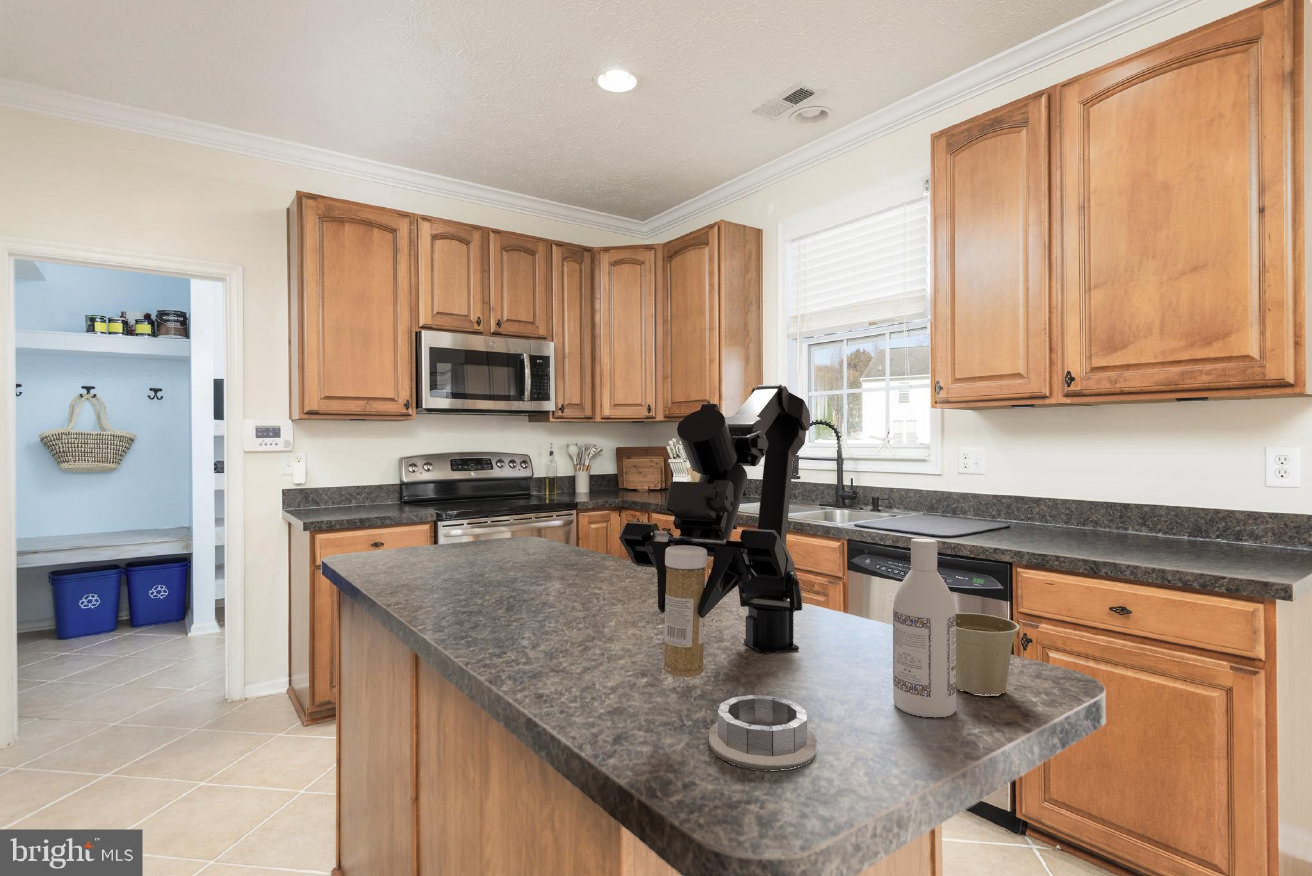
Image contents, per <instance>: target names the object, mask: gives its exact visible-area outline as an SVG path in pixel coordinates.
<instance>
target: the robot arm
mask: <svg viewBox="0 0 1312 876" xmlns="http://www.w3.org/2000/svg"><path fill="white" fill-rule="evenodd" d="M810 414H811V413H810V410H809V408H808V405H807V403H806V402H805V400H804V399H803V398H801V397H799V396H797V395H795V394H793V393H792V392H790V391H789V390H788V387H787V386H786V385H782V384H758V385H757V386H753V387H752V390H751V394H750V396H749V397H748V398H747V399H746V401H745V402H743V404H742V405H741V406H740V407H739V409H738V410H737V411H736V412H735V413H734V414H733V415H732V416H727V417H725V415H724V414H723V413H722V412H721V410H720V407H719V405H718V404H717V403H702V404H701V405H700V409H698V410H695V411H693V412H691V413H689V414H687V415H686V416H685V417H684V418H683V419H682V420H680V421H678V424H677V426H676V427H677V428H676V431H677V436H678V438H679V440H680V443H681V445H682V448H683V450H684V453H685V456H686V458H687V461H688V463H689V465H690V468H691V471H692V472H695V473H697V474H698V475H699V478H698V480H697V481H673V480H672V481H670V482H669V486H668V490H667V497H666V502H665V506H664V510H665V511H666V512H669V513H671V514H672V516H674V518H673V522H672V524H673V527H674V529H675V530H679V534H678V535H674V534H672V533H671V532H670V531H666V530H661V529H660V527H659V525H658V523H657V522H643V521H628V522H626V523H625V525H624V526H623V527H622V529H621V531H620V533H619V537H618V539H619V540H620V543H621V545H622V546H623V548H624V550H625V551H626V553H627V555H628V557H629V559H630V560H631V562H632V564H633V565H635V566H638V567H644V568H655V570H656V577H657V581H656V582H657V607H658V608H657V609H658V610H659V612H660V613H661V614H665V593H666V574H667V570H666V565H665V551H666V548H668V547H671V546H679V545H688V546H698V547H702V548H705V549H706V550H707V559H708V558H709V559H712V567H711V569H710V571H709V572H710V573H709V575H708V578H707V580H706V583H705V589H704V591H703V594H702V597H701V600H700V605H699V609H698V614H699V616H700V618H704V617H705V618H706V616H707V615H708V614H709V613H711V611H712V610H713V609H714V608H715V606H717V605H718V604H719V603H720V602H721V601H722V600H723V599H724V597H726V596H728V594H729V593H730V592H731V591H732V590H734V589H735V588H737V587H738V596H739V604H740V607H742V608H745V607H746V608H748V610H747V611H748V612H747V614H748V615H746V616H745V638H743V643H745V644H746V645H747V646H749V647H751V648H752V649H754V650H755V651H756V652H758V653H759V654H772V653H773V654H774V653H781V652H790V651H799V650H800V646H799V645H797V644H796V643H794V613H796V612H799V611H802V610H803V593H802V589H801V583H800V581H799V578H798V575H797V572H796V571H795V566H796V565H795V562H794V560H793V558H792V555H791V554H790V551H789V549H788V547H787V534H788V525H789V524H788V522H789V514H790V513H789V512H790V500H791V499H790V498H791V489H792V478H793V477H792V476H793V465H794V458H795V456H796V455H797V454H798V453H799V451H801V449H802V448H803V446H804V445H805V443H806V437H807V432H808V431H809V429H810V428H811V427H810V426H811V415H810ZM763 458H764V459H763ZM762 459H763V460H764V461H763V462H764V463H763V472H762V480H761V489H760V490H761V491H760V497H759V498H760V500H759V501H760V502H759V510H758V518H757V528H743V529H741V533H740V536H739V539H740V540H737V541H736V540H731V536H732V533H733V531H734V530H737V529H738V527H739V520H738V517H737V515H738V512H739V509H740V505H741V503H742V502H741V501H742V499H743V497H747V495H748V488H747V480H748V473H747V470H746V468H745V467H757V466H758V465H759V464H760V462H761V461H762Z"/></svg>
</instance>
